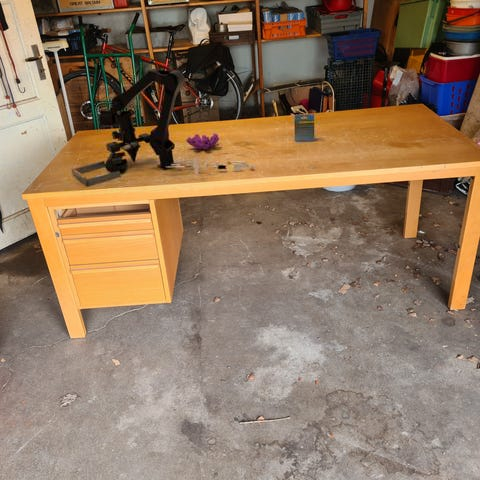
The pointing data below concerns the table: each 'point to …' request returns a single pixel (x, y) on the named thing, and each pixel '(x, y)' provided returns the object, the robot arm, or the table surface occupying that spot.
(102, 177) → the frame
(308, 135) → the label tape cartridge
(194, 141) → the purple flower bowl
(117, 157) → the end cap
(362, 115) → the table surface
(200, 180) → the table surface
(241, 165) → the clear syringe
